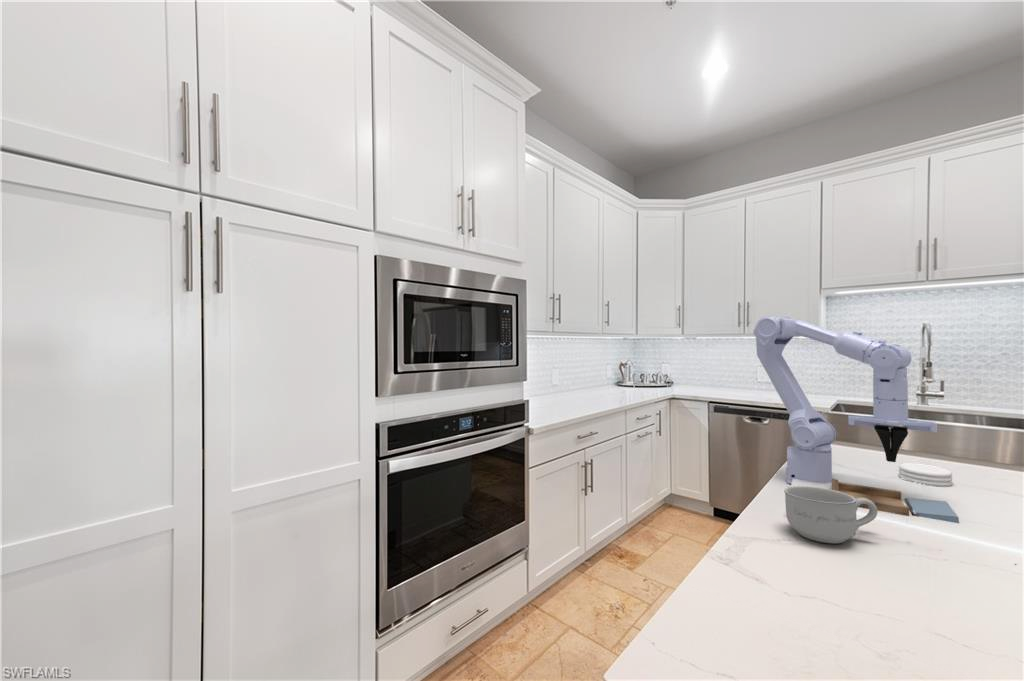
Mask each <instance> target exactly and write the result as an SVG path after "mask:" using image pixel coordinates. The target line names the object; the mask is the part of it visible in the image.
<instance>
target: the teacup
mask: <svg viewBox="0 0 1024 681" xmlns="http://www.w3.org/2000/svg"><path fill="white" fill-rule="evenodd" d="M783 491H784V496H785V497H784V498H785V499H784V501H785V512H786V520H787V522H788V523H789V525H790V526H791V527H792V528H793V529H794V530H795V531H797V533H798V534H800V536H802V537H804V538H806V539H809V540H811V541H814V542H818V543H819V542H820V543H825V544H841V543H845V542H846V541H847V540H849V539H852V538H853V537H854V536H855V534H856V531H857V530H858V529H859V528H860V527H862V526H864V525H867V524H869V523H871V522H872V521H874V520H875V519H876V517H877V516H878V511H877V508H876V506H875V504H874V503H873V502H872V501H870V500H868V499H866V498H857V499H855V498H854V497H853V496H851V495H849V494H846V493H843V492H840V491H836V490H832V488H831V489H829V488H825V487H824V488H823V487H817V486H807V485H806V486H805V485H798V486H797V485H796V486H795V485H793V486H788V487H786V488H784V490H783ZM861 504H867V505H868V507H869V509H868V510H869V511H868V513H867V514H866V515H864V516H863V517H861V518H858V519H857V512H858V508H859V507H858V506H860V505H861Z"/></svg>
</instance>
